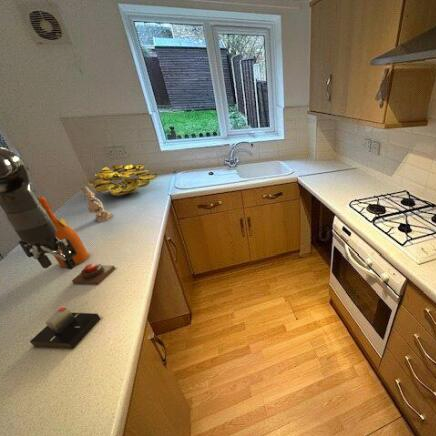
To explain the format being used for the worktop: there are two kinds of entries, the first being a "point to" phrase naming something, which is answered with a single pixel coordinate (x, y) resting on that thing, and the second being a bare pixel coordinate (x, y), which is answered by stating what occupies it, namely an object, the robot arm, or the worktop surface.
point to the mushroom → (118, 188)
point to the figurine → (96, 206)
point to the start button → (90, 268)
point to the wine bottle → (65, 235)
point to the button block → (94, 275)
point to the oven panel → (67, 332)
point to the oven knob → (60, 320)
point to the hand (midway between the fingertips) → (60, 267)
